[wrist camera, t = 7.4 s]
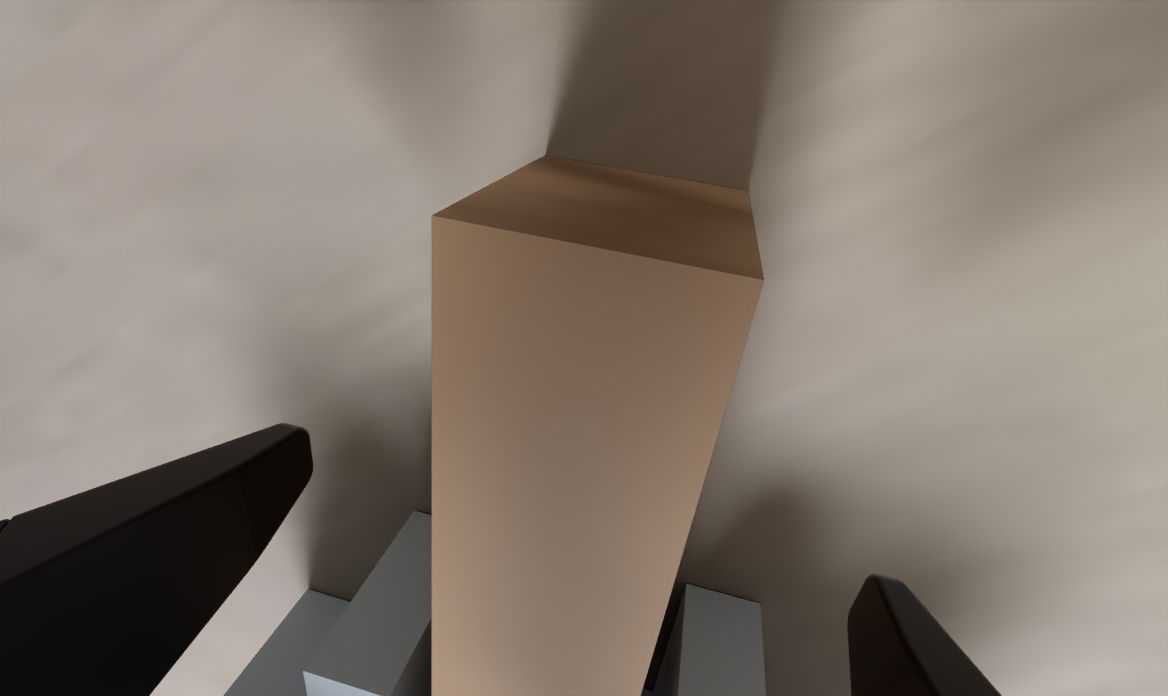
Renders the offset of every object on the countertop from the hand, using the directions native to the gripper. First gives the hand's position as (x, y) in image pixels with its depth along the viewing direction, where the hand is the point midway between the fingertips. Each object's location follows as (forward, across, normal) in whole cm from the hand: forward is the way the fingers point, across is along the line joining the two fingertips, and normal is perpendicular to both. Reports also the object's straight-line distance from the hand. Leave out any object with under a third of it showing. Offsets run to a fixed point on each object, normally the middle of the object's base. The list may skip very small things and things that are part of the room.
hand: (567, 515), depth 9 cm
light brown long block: (+5, 0, +3) cm, 5 cm away
